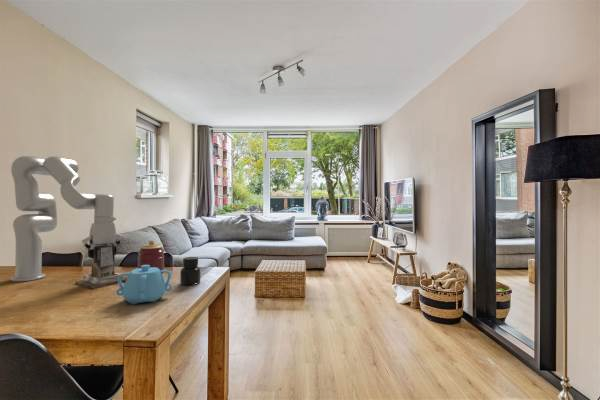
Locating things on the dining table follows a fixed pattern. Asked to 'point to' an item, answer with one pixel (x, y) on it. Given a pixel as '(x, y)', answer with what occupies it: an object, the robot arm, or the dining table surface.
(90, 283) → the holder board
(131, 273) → the decorative pot
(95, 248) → the coffee box
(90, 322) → the dining table surface
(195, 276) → the ink bottle
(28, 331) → the dining table surface
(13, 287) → the dining table surface
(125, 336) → the dining table surface
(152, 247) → the canister
